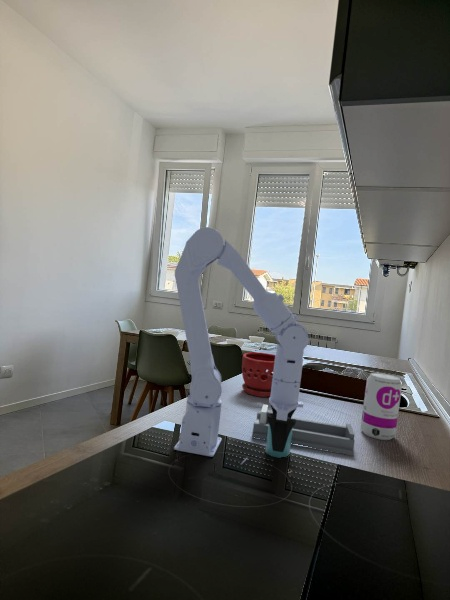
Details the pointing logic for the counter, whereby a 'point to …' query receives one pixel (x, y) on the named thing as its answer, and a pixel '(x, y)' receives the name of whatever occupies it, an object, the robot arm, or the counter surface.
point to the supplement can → (381, 406)
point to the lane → (314, 435)
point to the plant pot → (258, 373)
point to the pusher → (264, 414)
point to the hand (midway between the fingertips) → (278, 443)
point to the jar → (276, 453)
